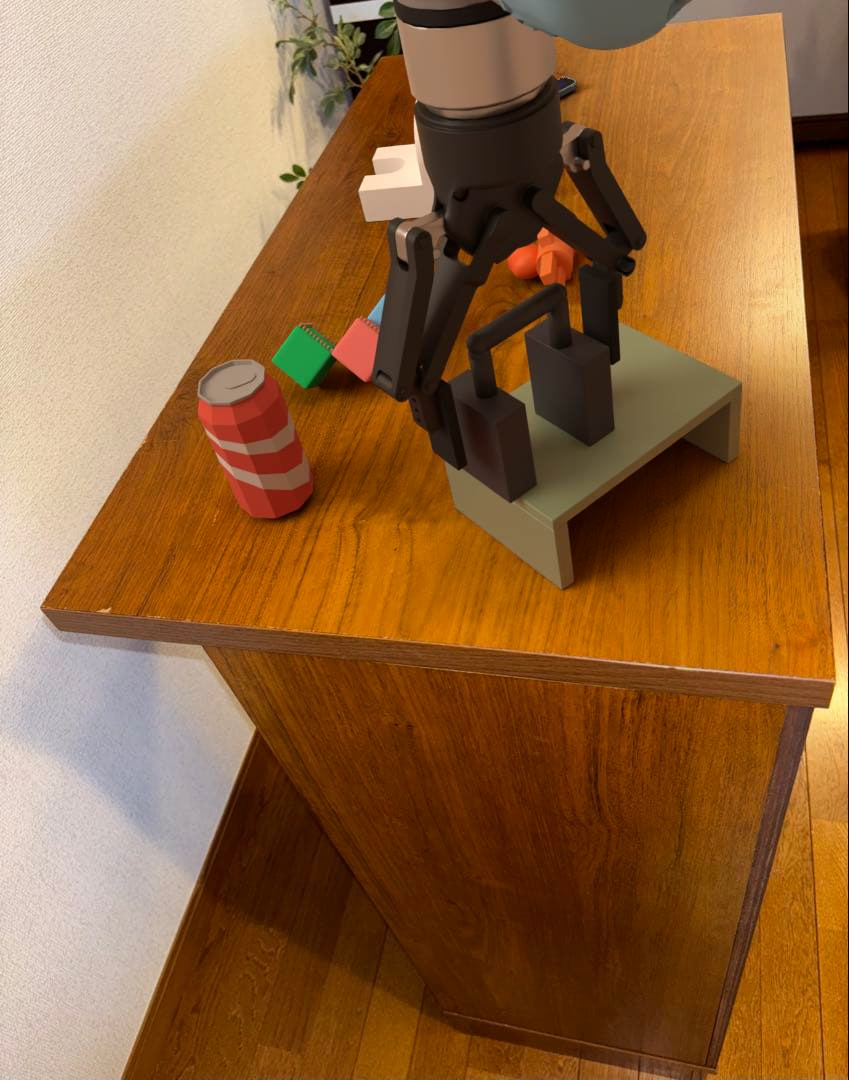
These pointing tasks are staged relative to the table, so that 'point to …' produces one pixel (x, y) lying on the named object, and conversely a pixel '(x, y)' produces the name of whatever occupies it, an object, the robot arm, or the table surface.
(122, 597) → the table surface
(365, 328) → the building blocks
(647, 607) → the table surface
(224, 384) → the beverage can
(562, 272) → the orange toy bird
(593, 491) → the shelf
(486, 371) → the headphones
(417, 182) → the white thick notched block
